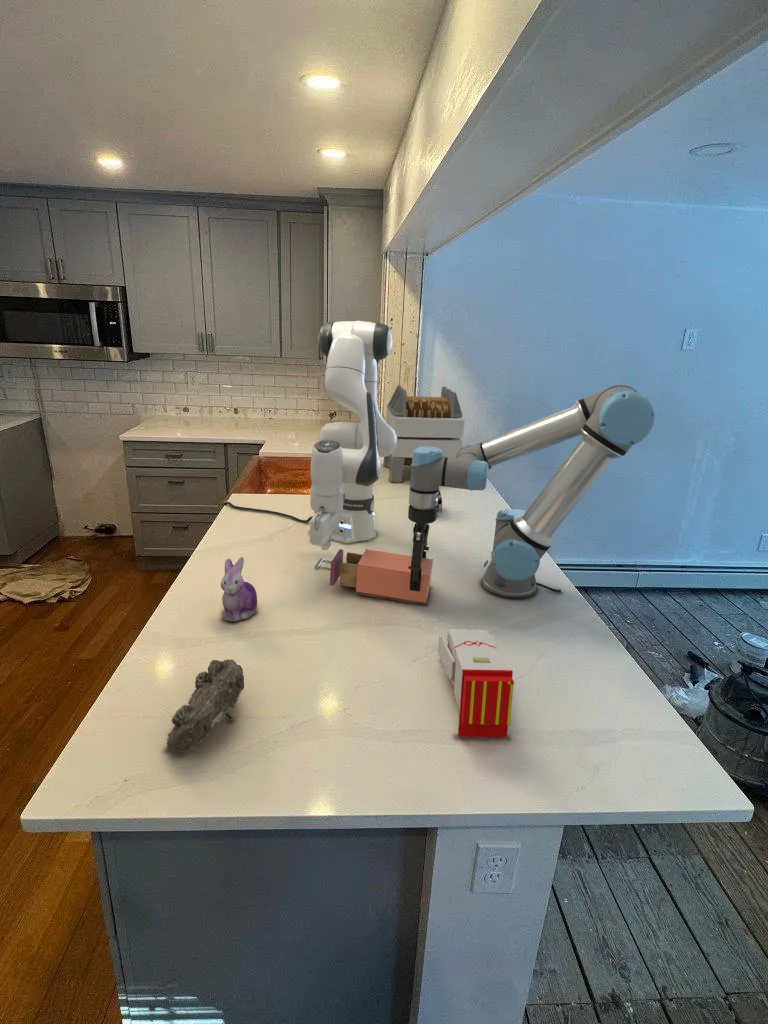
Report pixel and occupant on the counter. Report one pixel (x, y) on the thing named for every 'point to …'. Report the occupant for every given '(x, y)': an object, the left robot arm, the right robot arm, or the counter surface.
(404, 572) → the cabinet
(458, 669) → the toy
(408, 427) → the transformer
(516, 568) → the right robot arm
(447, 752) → the counter surface
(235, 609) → the figurine
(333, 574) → the drawer
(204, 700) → the fossil
